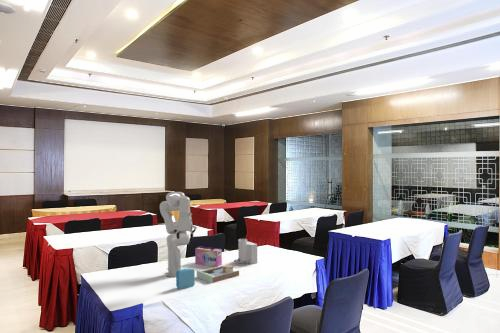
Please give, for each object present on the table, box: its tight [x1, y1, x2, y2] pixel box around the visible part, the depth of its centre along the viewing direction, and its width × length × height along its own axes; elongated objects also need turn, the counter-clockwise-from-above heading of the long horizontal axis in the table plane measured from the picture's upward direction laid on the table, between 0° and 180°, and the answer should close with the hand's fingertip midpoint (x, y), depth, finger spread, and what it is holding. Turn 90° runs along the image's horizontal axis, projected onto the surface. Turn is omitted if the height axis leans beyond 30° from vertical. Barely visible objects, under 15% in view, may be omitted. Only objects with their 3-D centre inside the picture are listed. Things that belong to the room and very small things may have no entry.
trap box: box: [196, 265, 240, 284], centre depth 266 cm, size 19×26×5 cm
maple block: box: [222, 264, 234, 272], centre depth 272 cm, size 5×6×4 cm
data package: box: [175, 267, 196, 290], centre depth 243 cm, size 12×4×12 cm, turn 127°
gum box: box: [194, 246, 223, 268], centre depth 299 cm, size 24×8×14 cm, turn 64°
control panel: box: [233, 238, 258, 265], centre depth 303 cm, size 16×19×20 cm
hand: (184, 238), depth 246 cm, fingers open, 9 cm apart
